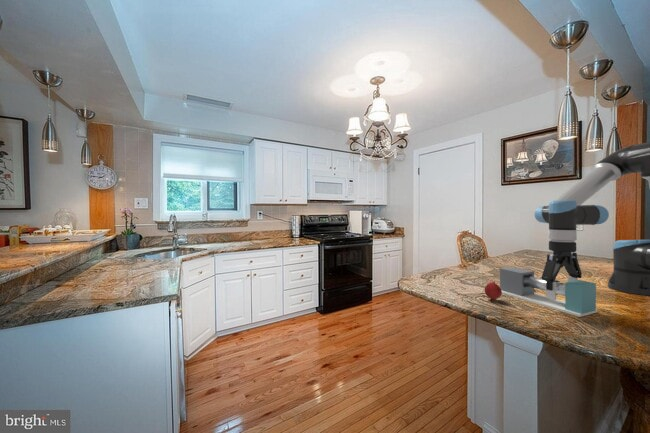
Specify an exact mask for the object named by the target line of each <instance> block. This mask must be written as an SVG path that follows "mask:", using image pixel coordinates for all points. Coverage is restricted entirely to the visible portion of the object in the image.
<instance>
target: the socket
mask: <svg viewBox="0 0 650 433" xmlns="http://www.w3.org/2000/svg"><path fill="white" fill-rule="evenodd" d="M564 297H565V300H564V301H565V309H566V310H570V311H573V312H576V313H580V314H584V313H588V312H592V311H595V310H597V282H592V281H586V280H581V279H578V280H576V281H571V282H568V281H567V282H565V296H564Z"/></svg>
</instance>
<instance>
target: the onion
mask: <svg viewBox="0 0 650 433" xmlns="http://www.w3.org/2000/svg"><path fill="white" fill-rule="evenodd" d="M484 293H485V295H486V297H488V298H489V299H491V300H492V301H495V300H498V299H499V298H500V297H501V296H502V291H501V289H500V285H498V284H497V283H496V281H495V280H493V281H491V282H490V283H488V284H485V287H484Z"/></svg>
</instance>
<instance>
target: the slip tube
mask: <svg viewBox="0 0 650 433" xmlns="http://www.w3.org/2000/svg"><path fill="white" fill-rule="evenodd" d="M554 282H556V296H564V297H565V283H566V282H565V283H564V282H560V281H559V280H557V279H555V281H554ZM524 286H527V287H531V288H534V290H535V289H536V290H540V291H544V292H546V281H545V280H542V277H541V278H540V277H536V276H534V277H532V276H528V275H524Z"/></svg>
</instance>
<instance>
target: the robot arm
mask: <svg viewBox="0 0 650 433" xmlns="http://www.w3.org/2000/svg"><path fill="white" fill-rule="evenodd" d="M638 173H640V176H641V178H642V179H645V180H647V181H648V187H649V189H650V141H647V142H643V143H640V144H639V143H638V144H633V145H628V146H625V147H623V148H620V149H619V150H616V151H614V152H612V153H610V154H608V155H607V156H604V158H602V159H601V160H598V162H596V164H594V165H593V166H592V168H591V171H590V172H589V173H587V174H586V175H585V176H583V177H582V178H581V179H579V180H578V181H577V182H576V183H575V184H574V185H572V186H571V187H570V188H569V189H567V190H566V191H564V193H562V194H561V195H560V196H559V197H557V199H555V200H551V201H549V203H548V205H543V206H539V207H537V208H536V209H535V211H534V218H535V220H536V221H537V222H539V223H542V224H548V232H547V234H548V239H549V241H548V250H549V251H550V252H552V254H550V253H547V255H546V262H545V264H544V267H543V268H544V269H543V271H542V275H541V278H542V280H545V281H546V291H545V296H546V298H550V299H553V300H556V299H557V295H556V282H554V281H555V280H557V279H556V278H557V277H558V274H559V272H560V270H561V268H565V270H566V272H567V274H568V276H567V282H571V281H576V280H579V279H582V278H583V277H582V275H583V273H582V270H581V267H580V263H579V261H578V254H577V242H576V241H577V236H578V234H577V225H578V226H581V225H583V226H587V225H588V226H595V225H603V224H604V223H605V222H607V220H608V219H609V217H610V215H609V214H610V213H609V211H608V208H606V207H605V206H602V205H599V204H598V205H597V204H596V205H595V204H586V205H583V204H585V202H586V201H587V200H589V199H590V198H592V197H593V196H594V195H595V194H596V193H597V192H599V191H601V189H603V188H604V187H605V186H606V185H608V184H609V183H610V182H612V181H616V180H618V179H619V178H620V177H623V176H625V175H629V174H630V175H631V174H638ZM612 251H613V271H612V273H611V275H610V277H609V279H608V281H607V287H608V288H609V289H612V290H614V291H618V292H622V293H627V294H634V295H640V296H641V295H643V296H650V239H619V240H615V242H613V248H612Z"/></svg>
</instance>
